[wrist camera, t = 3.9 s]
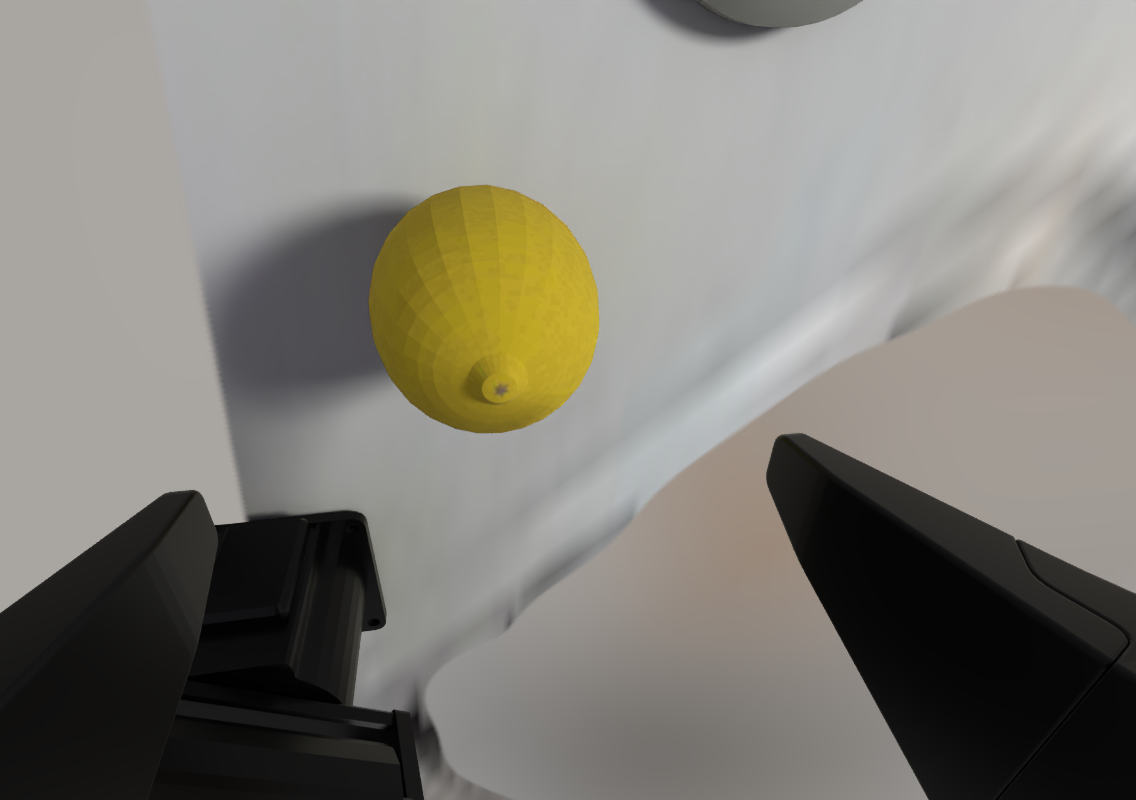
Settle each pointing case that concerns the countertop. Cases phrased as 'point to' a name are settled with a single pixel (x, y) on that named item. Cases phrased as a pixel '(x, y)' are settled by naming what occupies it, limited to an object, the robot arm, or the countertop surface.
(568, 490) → the countertop surface
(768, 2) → the coaster
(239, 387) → the countertop surface
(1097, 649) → the robot arm
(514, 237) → the lemon
